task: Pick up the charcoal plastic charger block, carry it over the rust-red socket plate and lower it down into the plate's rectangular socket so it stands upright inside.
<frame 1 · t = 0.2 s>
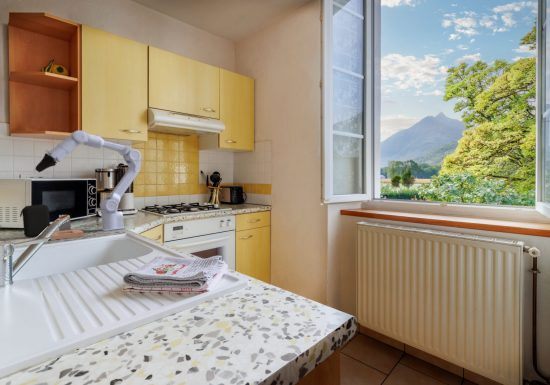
hand: (37, 170, 131), 31 cm above the countertop, tool tilted 45°, fingers open, 7 cm apart
socket plate: (65, 236, 135), on the countertop
carrying case or bag: (36, 237, 137), on the countertop
charger block: (65, 233, 145), on the countertop
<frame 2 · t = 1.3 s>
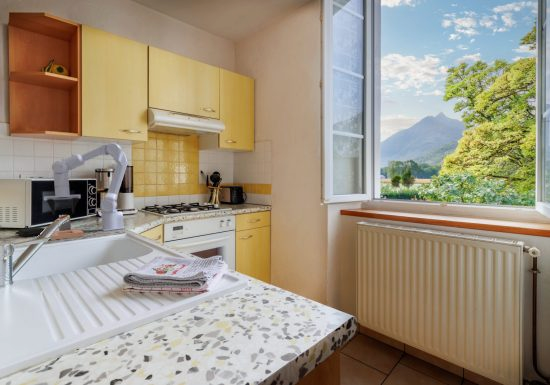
hand: (63, 214, 145), 9 cm above the countertop, tool pointing down, fingers open, 7 cm apart
carrying case or bag: (35, 233, 138), point 2 cm above the countertop
everything else where it was.
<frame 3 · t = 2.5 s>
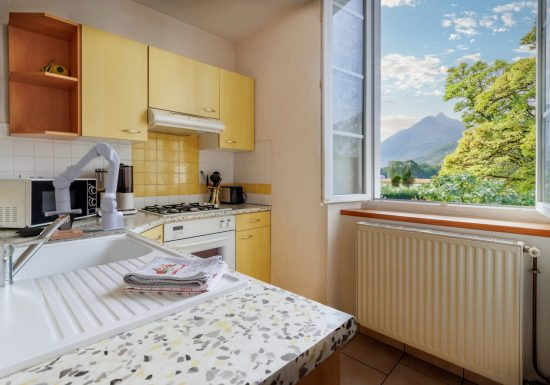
hand: (64, 229, 145), 2 cm above the countertop, tool pointing down, fingers closed on charger block, 4 cm apart
charger block: (65, 233, 145), on the countertop, touching gripper
everything else where it was.
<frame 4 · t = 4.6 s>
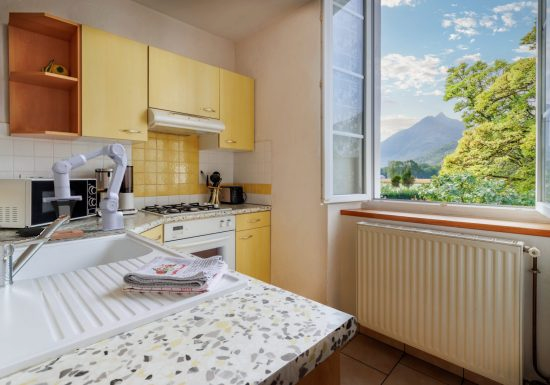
hand: (64, 216, 137), 9 cm above the countertop, tool pointing down, fingers closed on charger block, 4 cm apart
charger block: (64, 221, 137), point 7 cm above the countertop, touching gripper
everything else where it was.
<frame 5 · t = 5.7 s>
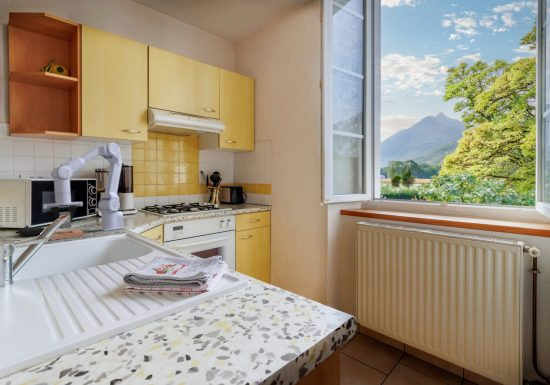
hand: (64, 223, 134), 6 cm above the countertop, tool pointing down, fingers closed on charger block, 4 cm apart
charger block: (64, 227, 134), point 4 cm above the countertop, touching gripper
everything else where it was.
when the fingers open (3 cm above the countertop, at t = 6.7 s): charger block drops 1 cm, resting in socket plate.
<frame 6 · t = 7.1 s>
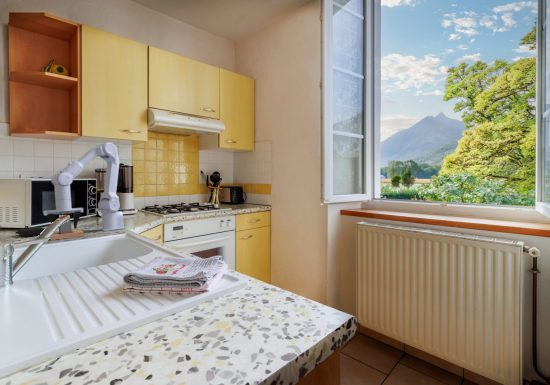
hand: (65, 229, 134), 3 cm above the countertop, tool pointing down, fingers open, 7 cm apart
charger block: (65, 237, 134), resting in socket plate
everything else where it was.
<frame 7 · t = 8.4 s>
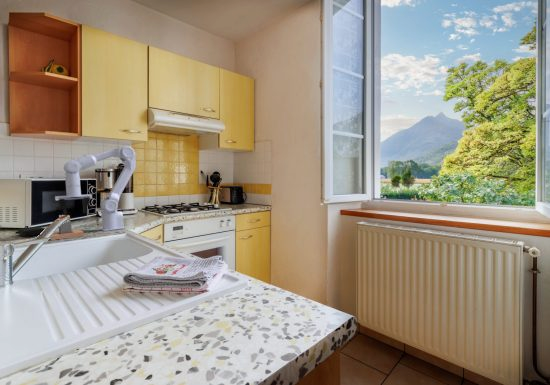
hand: (75, 214, 142), 9 cm above the countertop, tool pointing down, fingers open, 7 cm apart
nothing on the countertop moved.
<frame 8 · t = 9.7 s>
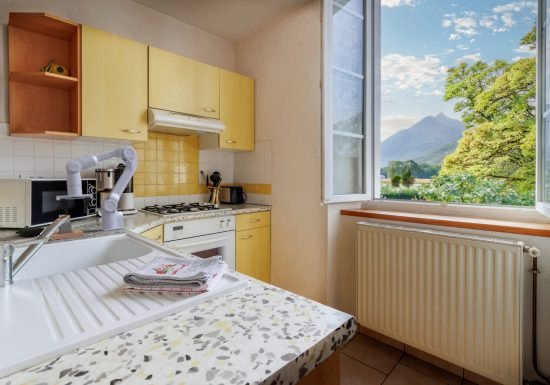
hand: (76, 213, 143), 9 cm above the countertop, tool pointing down, fingers open, 7 cm apart
nothing on the countertop moved.
at the end: charger block 0.3 cm from the target spot on the socket plate, point 0.0 cm above the socket plate's base; charger block tilted 0°; the gripper is holding nothing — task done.
